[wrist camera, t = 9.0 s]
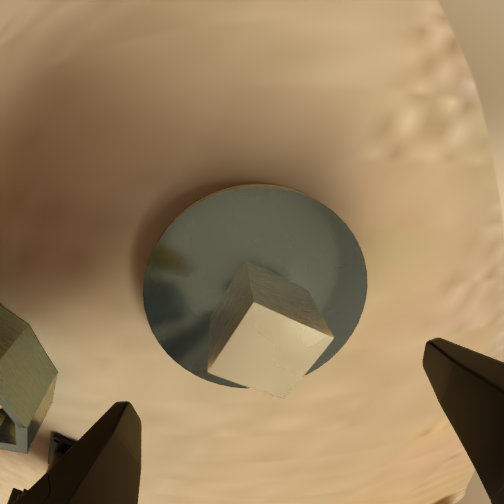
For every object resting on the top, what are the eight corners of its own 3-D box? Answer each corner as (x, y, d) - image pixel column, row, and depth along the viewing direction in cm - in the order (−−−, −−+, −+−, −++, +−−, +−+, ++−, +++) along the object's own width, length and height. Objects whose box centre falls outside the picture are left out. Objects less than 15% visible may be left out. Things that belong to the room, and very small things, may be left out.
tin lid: (283, 383, 17) (302, 458, 12) (125, 317, 15) (91, 391, 10) (385, 245, 15) (450, 293, 10) (212, 140, 13) (205, 137, 7)
